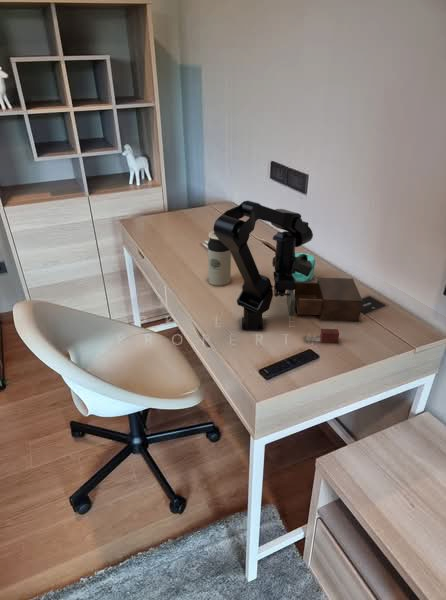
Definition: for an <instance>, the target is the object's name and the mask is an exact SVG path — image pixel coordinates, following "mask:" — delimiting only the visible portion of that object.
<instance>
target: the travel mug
mask: <svg viewBox="0 0 446 600" xmlns="http://www.w3.org/2000/svg"><path fill="white" fill-rule="evenodd" d="M208 238H209V240H208V243H207V246H208V248H207V269H208V271H207V272H208V273H207V276H208V283H209V284H211V285H214V286H226V285H228V284H230V282H231V274H232V273H231V271H232V269H231V267H232V266H231V265H232V254H231V252H230V250H229V248H228V247H227V246H225V245H224V244H223V243H222V242H221V241H220V240H219V239H218V238H217V236H216V235H215V234H214V230H213V231H210V232H209V233H208Z"/></svg>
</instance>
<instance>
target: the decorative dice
mask: <svg viewBox="0 0 446 600" xmlns="http://www.w3.org/2000/svg"><path fill="white" fill-rule="evenodd" d="M302 254H305V255H307V257H308V261H310V262H311V263H312V267H313V268H312V270H311V272H310V274H309V276H305V275H303V274H301V273H298V272H296V271H295V274H292V275H293V277H294V278H295V279H296V282H311V280H312V279H313V277H314V273H315V268H316V267H315V266H316V258H315V257H314V256H313V255H311V254H309V253H306V252H305V253H303V252H300V253H295V257H298V256H301V255H302Z"/></svg>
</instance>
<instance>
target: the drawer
mask: <svg viewBox="0 0 446 600" xmlns="http://www.w3.org/2000/svg"><path fill="white" fill-rule="evenodd" d="M273 296H274V297H276V298H277V297H279V296H280V297H282V296H283V297H284V296H286V301H287V309H288V315H289V317H294V313H295V308H296V314H297V315H306V316H307V315H308V316H310V315H311V316H320V315H321V312H322V305H323V298H322V295H321V291H320V288H319V284H318V282H317V281H307V282H298V281H296V289H295V290H286V292H285V293H279V292H278V290H276V289H275V285H274V284H273Z"/></svg>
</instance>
